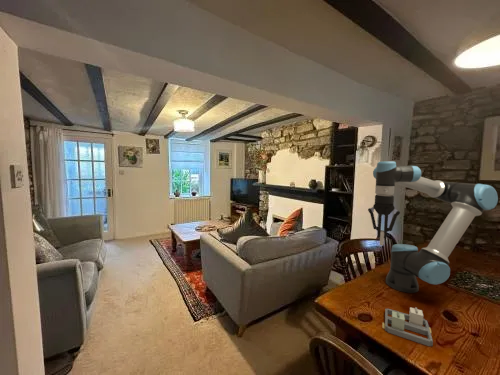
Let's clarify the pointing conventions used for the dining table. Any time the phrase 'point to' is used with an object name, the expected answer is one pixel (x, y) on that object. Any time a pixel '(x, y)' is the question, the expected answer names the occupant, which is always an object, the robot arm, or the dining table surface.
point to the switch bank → (411, 327)
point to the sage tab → (398, 320)
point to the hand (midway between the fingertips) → (381, 244)
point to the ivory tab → (416, 316)
